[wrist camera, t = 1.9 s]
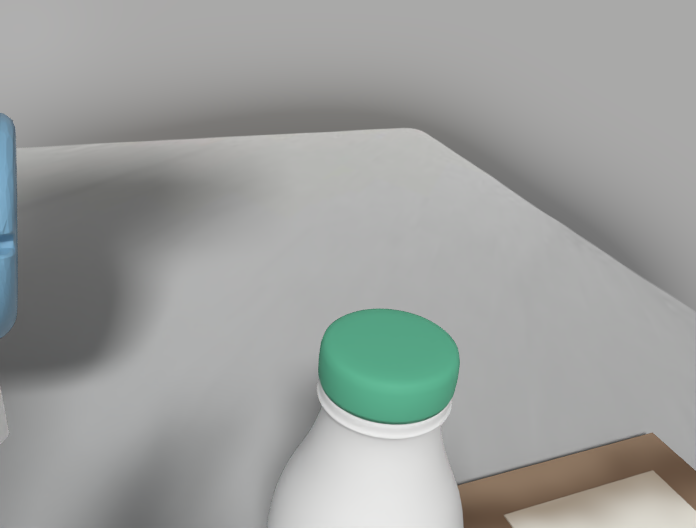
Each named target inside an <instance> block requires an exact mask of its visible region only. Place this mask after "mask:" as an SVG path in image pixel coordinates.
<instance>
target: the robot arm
mask: <svg viewBox="0 0 696 528" xmlns="http://www.w3.org/2000/svg"><path fill="white" fill-rule="evenodd" d="M17 304H18V243H17V166H16V134H15V126H14V124H13V120H11V119H10V118H9V117H8V116H6V115H5V114H3V113H0V338H2V337H3V336H4V335H6V334H7V333H8V332H9V331H10V329H11V328H12V327H13V325H14V323H15V320H16V317H17ZM8 435H9V429H8V423H7V418H6V413H5V408H4V403H3V397H2V392H1V387H0V444H1V443H2V442H3V441H4V440H5V439H6V438H7V436H8Z"/></svg>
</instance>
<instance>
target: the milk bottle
mask: <svg viewBox="0 0 696 528" xmlns="http://www.w3.org/2000/svg"><path fill="white" fill-rule="evenodd" d="M459 365H460V360H459V352H458V348H457V346H456V344H455V342H454V340H453V339H452V338H451V337H450V335H449V334H448V333H447V332H446V331H444V330H443V329H442V328H441V327H439V326H438V325H436V324H435V323H433V322H431V321H429V320H427V319H425V318H423V317H421V316H418V315H415V314H412V313H408V312H404V311H399V310H392V309H367V310H361V311H356V312H353V313H350V314H347V315H345V316H343V317H341V318H339V319H337V320H336V321H334V322H333V323H332V324H331V325H330V326H329V327H328V328H327V330H326V332H325V334H324V336H323V339H322V341H321V346H320V353H319V367H318V373H319V379H318V382H317V395H318V398H319V401H320V403H321V405H322V406H321V409H320V412H319V414H318V416H317V418H316V420H315V422H314V424H313V426H312V428H311V429H310V431H309V432H308V434H307V435H306V437H305V438H304V439H303V441H302V442H301V443H300V445H299V446H298V447H297V449H296V450H295V451H294V453H293V454H292V456H291V457H290V459H289V460H288V462H287V464H286V466H285V468H284V470H283V472H282V474H281V476H280V478H279V480H278V483H277V486H276V488H275V491H274V494H273V498H272V501H271V506H270V510H269V515H268V521H267V528H464V526H463V511H462V504H461V499H460V494H459V490H458V486H457V483H456V480H455V477H454V474H453V471H452V469H451V466H450V464H449V461H448V458H447V455H446V452H445V448H444V444H443V438H442V430H441V424H442V423H443V422H444V421H445V420H446V419H447V417H448V415H449V413H450V411H451V408H452V397H453V395H454V391H455V387H456V383H457V379H458V373H459Z"/></svg>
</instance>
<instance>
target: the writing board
mask: <svg viewBox="0 0 696 528" xmlns="http://www.w3.org/2000/svg"><path fill="white" fill-rule="evenodd" d="M458 490H459V494H460V499H461V504H462V511H463V526H464V528H696V471H695V470H694V469H693V468H692V467H691V466H689V465H688V464H687V463H686V462H685V461H684V460H683V459H682V458H680V457H679V456H678V455H677V454H676V453H675V452H674V451H673V450H671V449H670V448H669V447H668V446H667V445H666V444H665V443H664V442H662V441H661V440H660V439H659V438H658V437H657V436H656V435H655V434H653V433H649V434H646V435H642V436H638V437H635V438H631V439H627V440H623V441H620V442H616V443H612V444H609V445H605V446H601V447H598V448H594V449H590V450H587V451H583V452H579V453H576V454H572V455H568V456H564V457H561V458H557V459H553V460H550V461H546V462H542V463H539V464H535V465H531V466H528V467H524V468H520V469H517V470H513V471H509V472H505V473H502V474H498V475H494V476H491V477H487V478H483V479H480V480H476V481H472V482H469V483H465V484H461V485H458Z"/></svg>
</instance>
